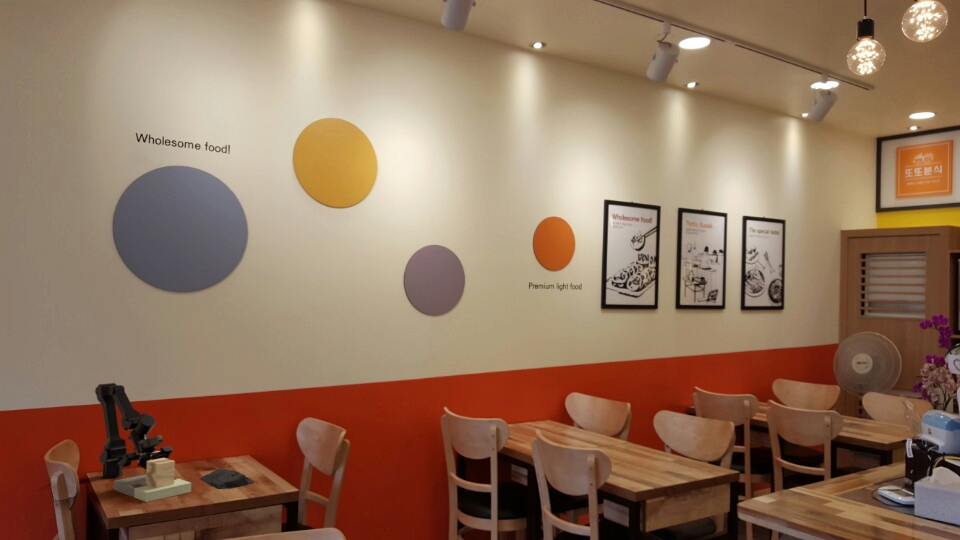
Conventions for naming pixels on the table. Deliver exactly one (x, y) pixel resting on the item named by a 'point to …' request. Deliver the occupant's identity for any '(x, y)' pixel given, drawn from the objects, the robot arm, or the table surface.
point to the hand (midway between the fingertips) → (154, 473)
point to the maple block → (160, 472)
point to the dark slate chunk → (226, 479)
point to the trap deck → (150, 488)
